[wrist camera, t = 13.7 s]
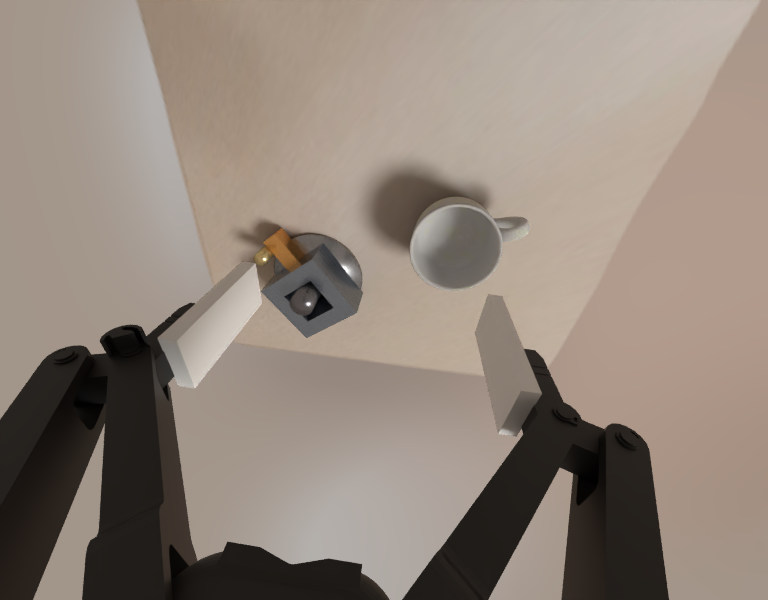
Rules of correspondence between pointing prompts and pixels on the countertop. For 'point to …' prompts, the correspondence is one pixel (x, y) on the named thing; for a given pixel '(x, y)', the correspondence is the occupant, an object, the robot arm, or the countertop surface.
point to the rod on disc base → (309, 293)
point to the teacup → (460, 243)
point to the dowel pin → (263, 256)
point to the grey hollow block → (318, 270)
